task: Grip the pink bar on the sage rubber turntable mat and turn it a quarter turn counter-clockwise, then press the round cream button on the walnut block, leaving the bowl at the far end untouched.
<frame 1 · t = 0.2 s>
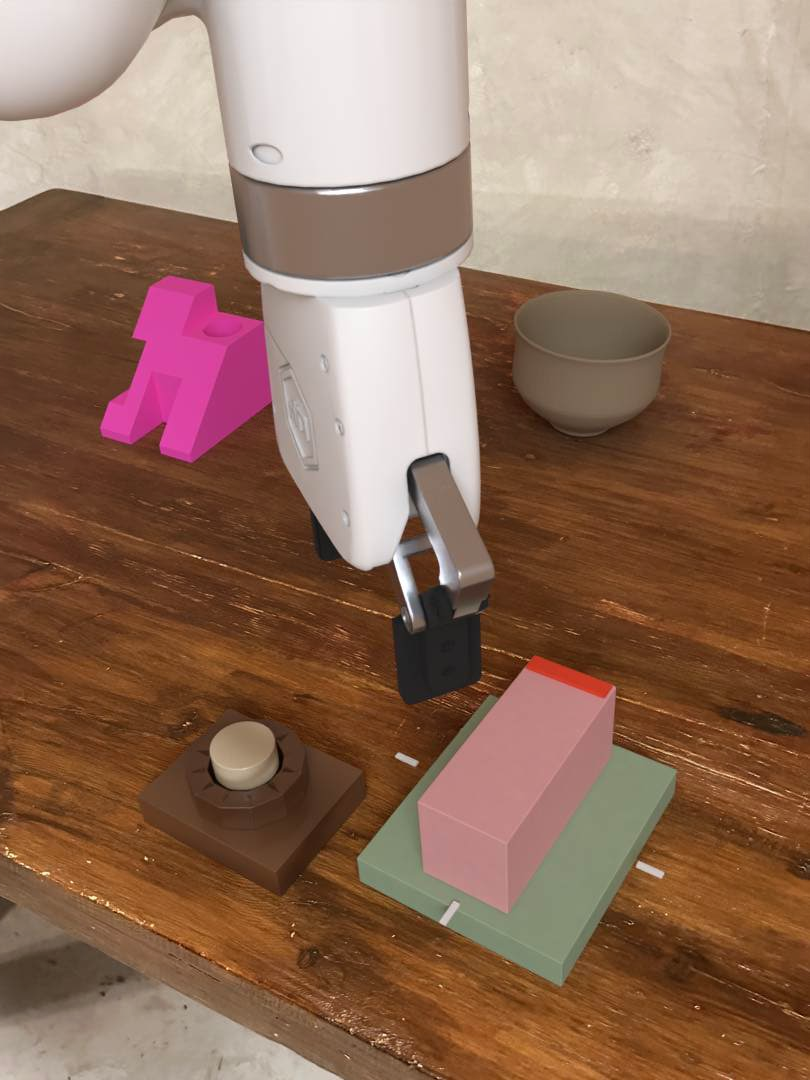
hand: (393, 614, 46), 20 cm above the table, tool pointing down, fingers open, 9 cm apart
bowl: (587, 426, 96), on the table
green mat: (521, 836, 62), on the table
bracket: (190, 418, 102), on the table
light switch: (256, 809, 65), on the table
button: (244, 755, 62), point 4 cm above the table, slide at 0.1 cm
pink bar: (521, 775, 59), point 5 cm above the table, hinge at 0.0°
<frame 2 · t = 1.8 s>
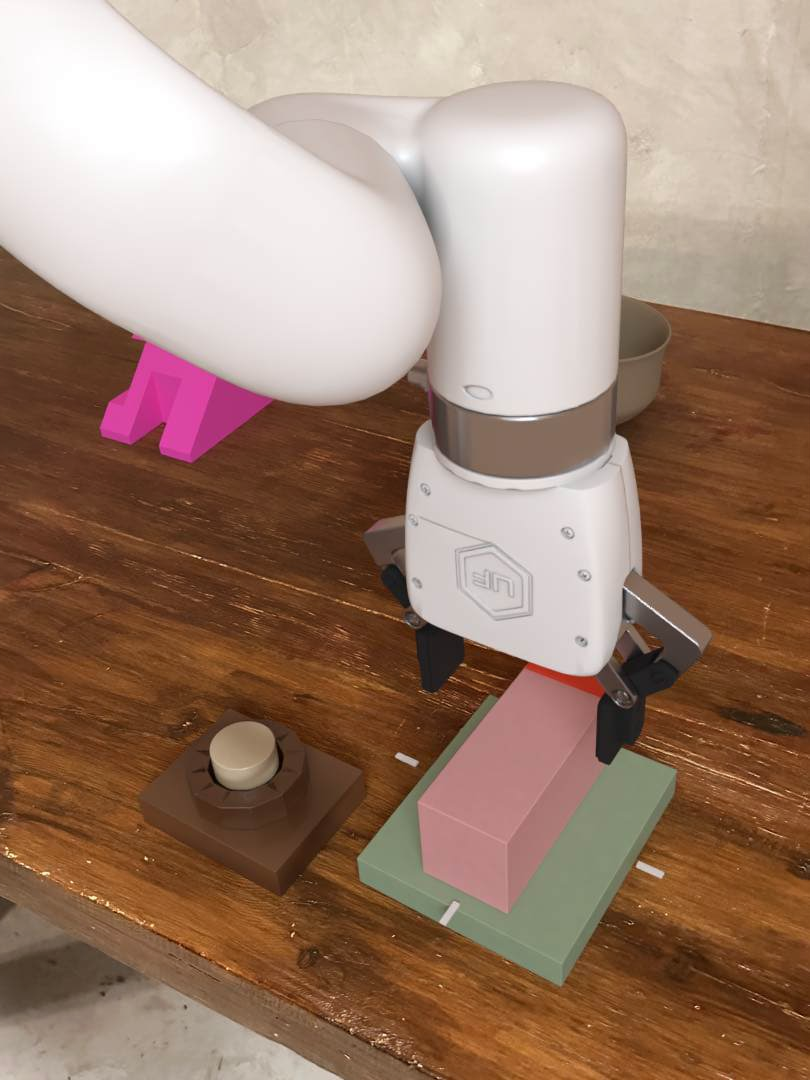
hand: (526, 708, 56), 10 cm above the table, tool pointing down, fingers open, 9 cm apart
nothing on the table moved.
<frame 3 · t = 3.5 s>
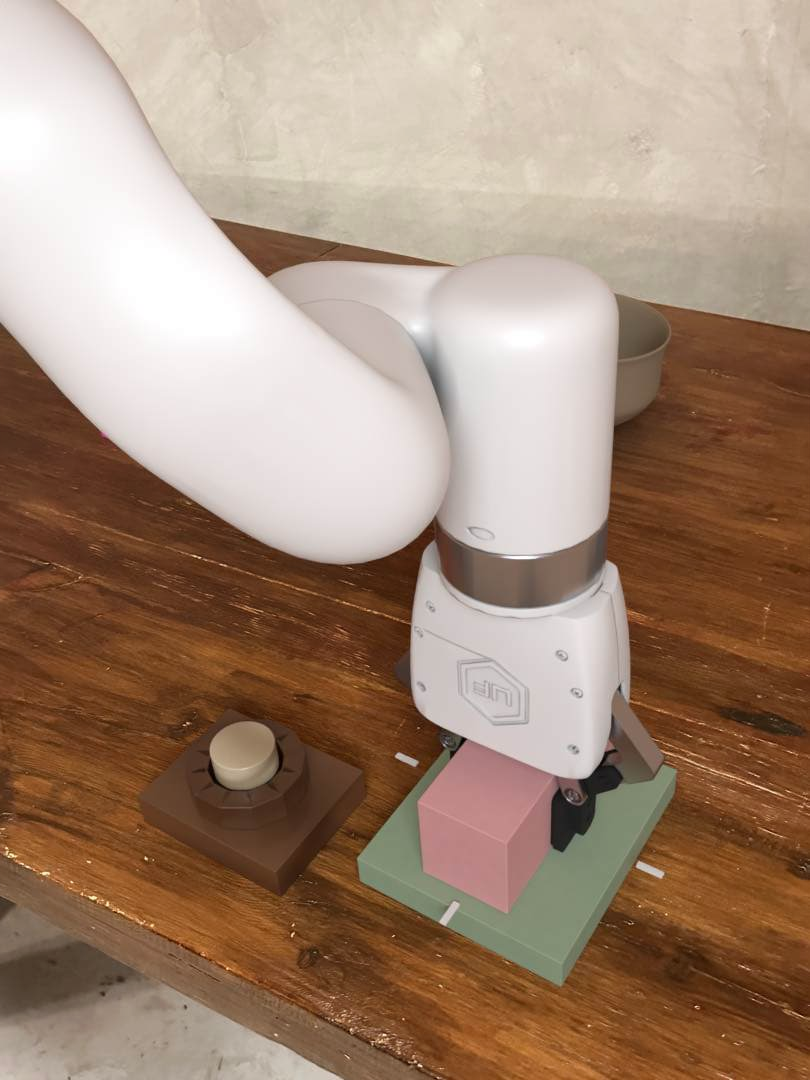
hand: (521, 807, 60), 2 cm above the table, tool pointing down, fingers closed on pink bar, 5 cm apart
pink bar: (521, 775, 59), point 5 cm above the table, hinge at 0.0°, touching gripper
everything else where it was.
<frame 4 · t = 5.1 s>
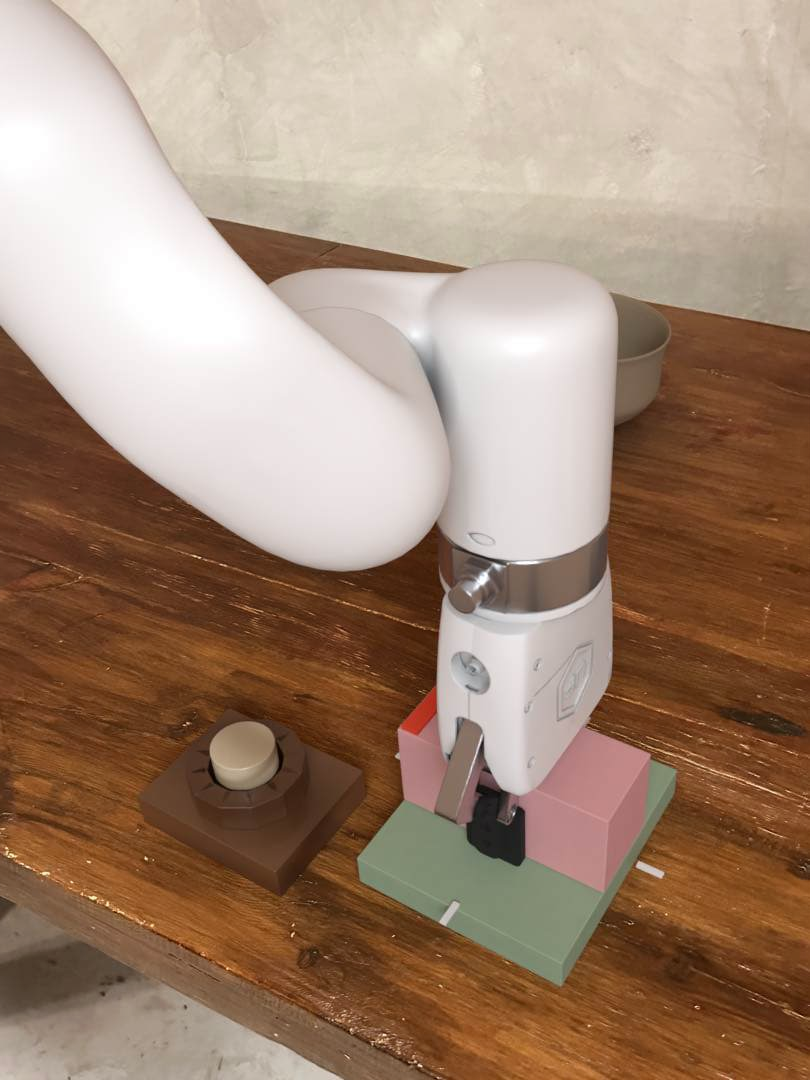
hand: (524, 809, 61), 2 cm above the table, tool pointing down, fingers open, 5 cm apart
pink bar: (521, 775, 59), point 5 cm above the table, hinge at 90.1°
everything else where it was.
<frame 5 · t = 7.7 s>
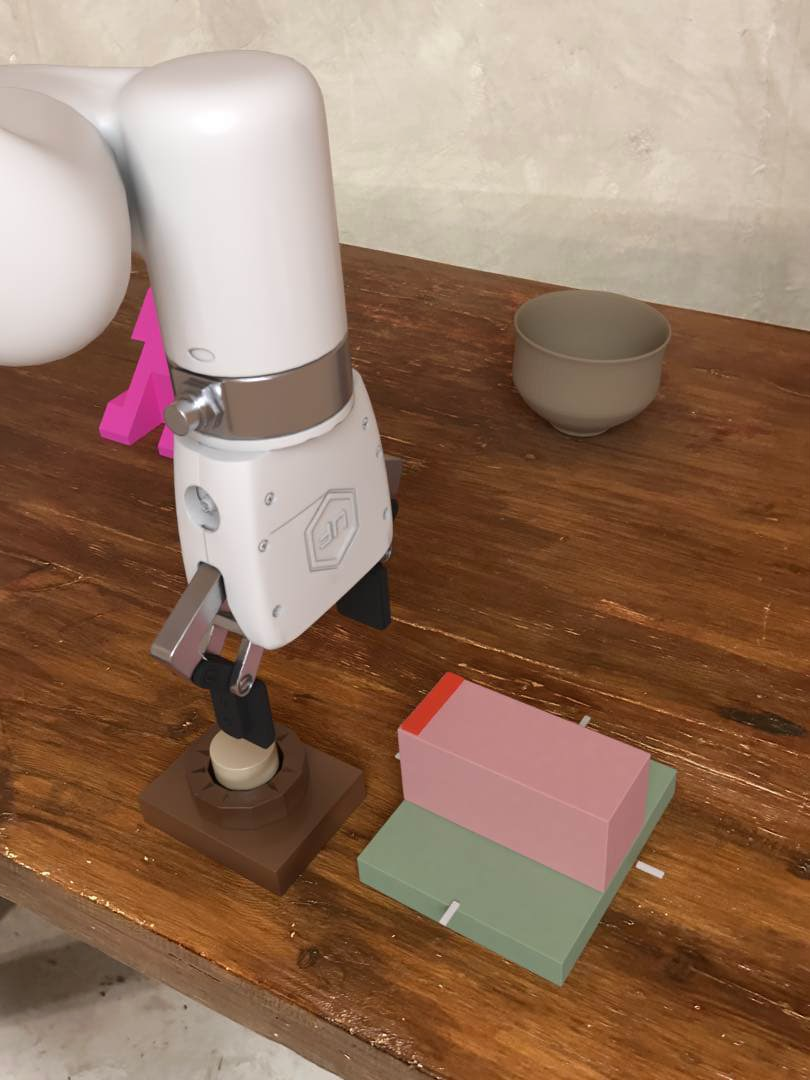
hand: (309, 674, 57), 11 cm above the table, tool pointing down, fingers open, 9 cm apart
nothing on the table moved.
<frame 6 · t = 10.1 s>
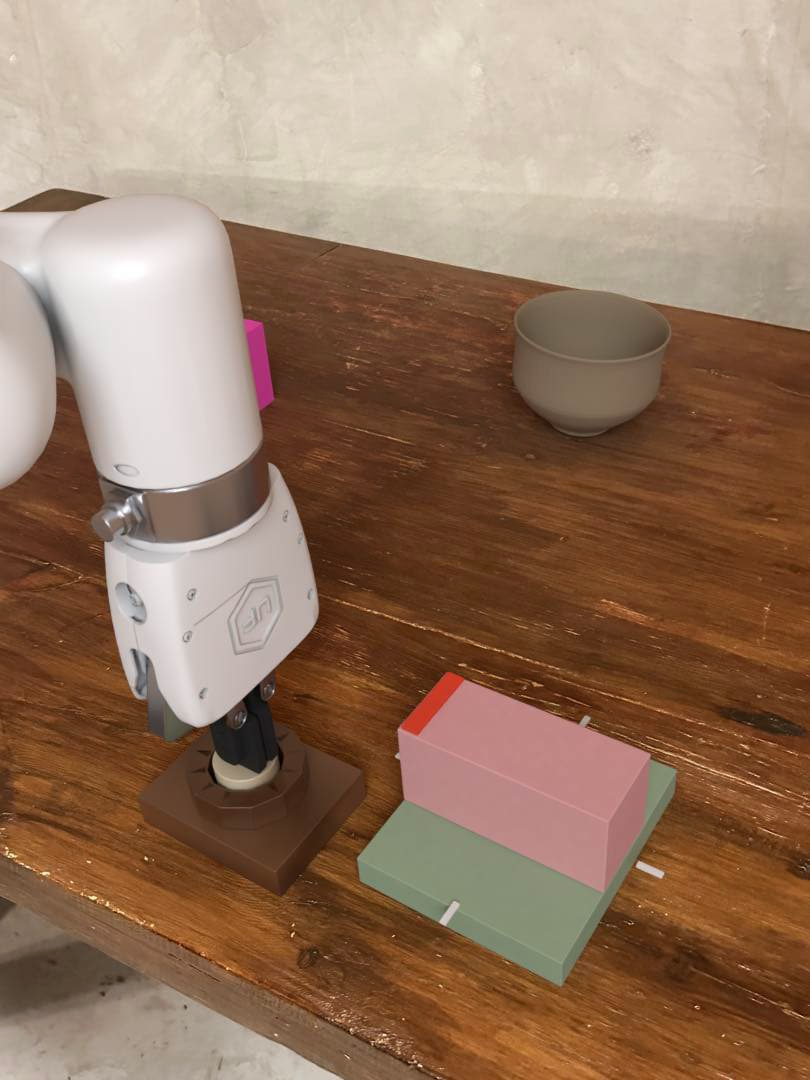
hand: (248, 754, 62), 4 cm above the table, tool pointing down, fingers closed
button: (246, 766, 62), point 4 cm above the table, slide at -0.8 cm, touching gripper
everything else where it was.
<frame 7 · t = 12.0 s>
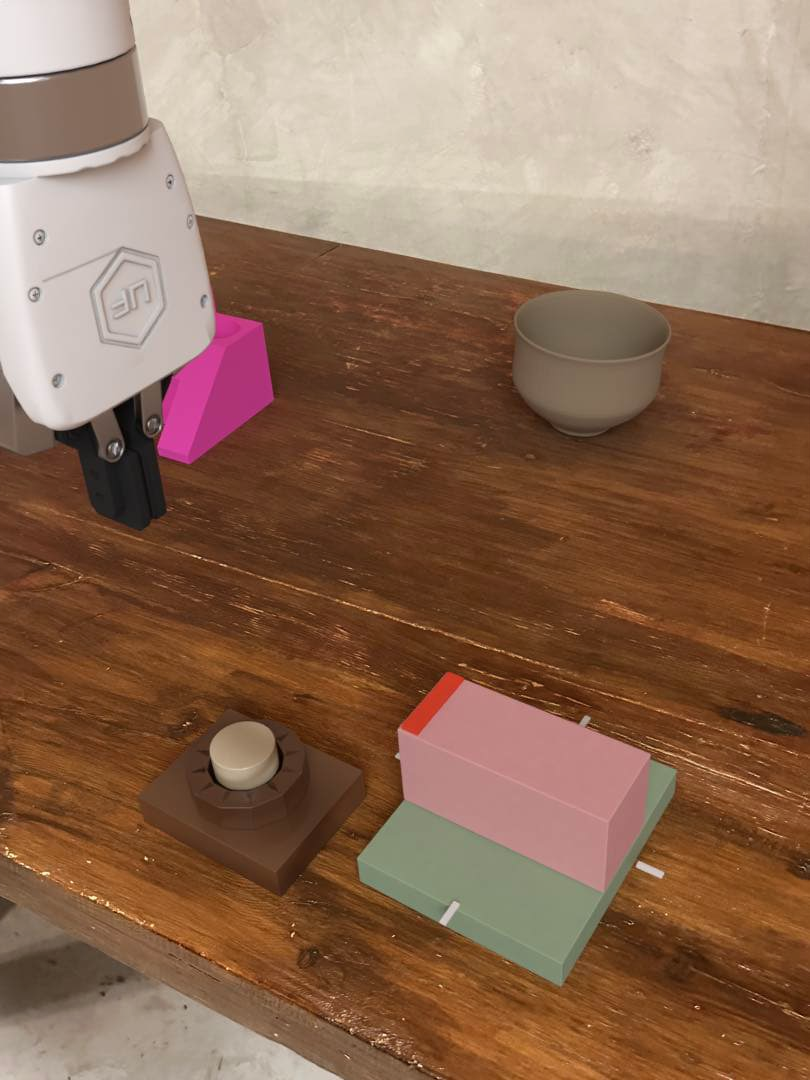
hand: (131, 513, 52), 21 cm above the table, tool pointing down, fingers closed
button: (244, 755, 62), point 4 cm above the table, slide at 0.1 cm
everything else where it was.
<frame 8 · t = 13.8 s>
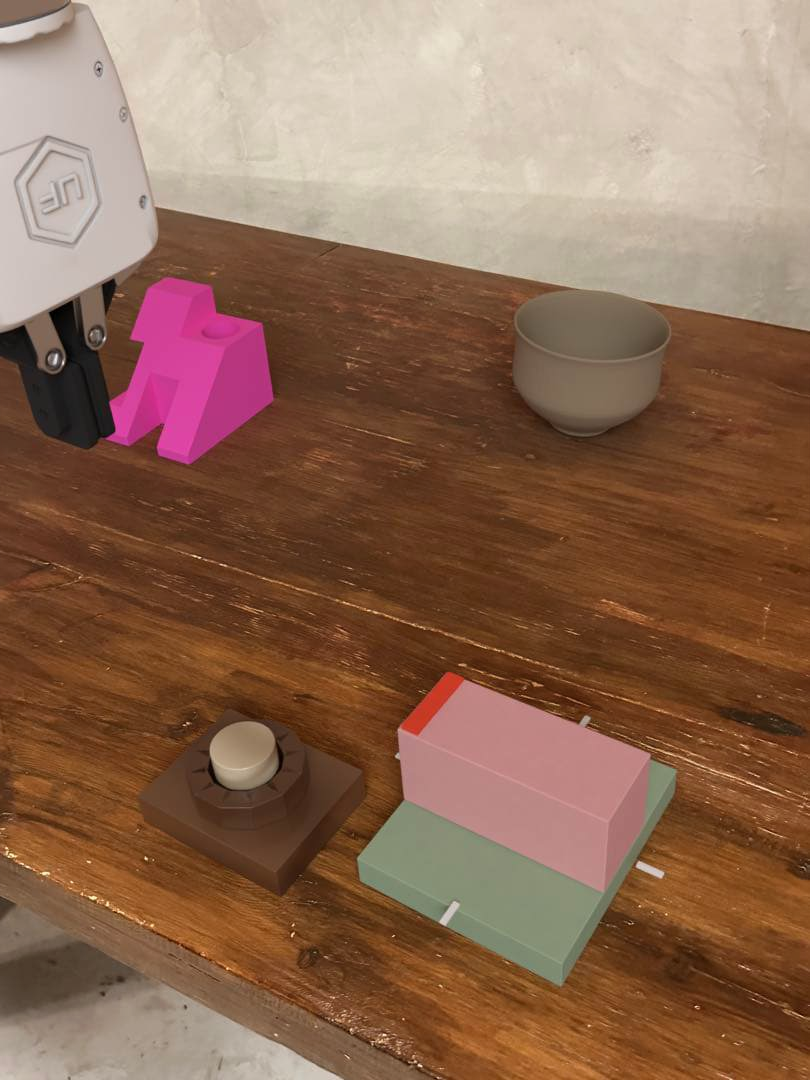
hand: (79, 433, 50), 25 cm above the table, tool pointing down, fingers closed
nothing on the table moved.
at the end: pink bar at +90° (first picture: +0°); button pushed in 1.1 cm at the most during the clip, back to where it started at the end; bowl moved 0.2 cm from its start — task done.
